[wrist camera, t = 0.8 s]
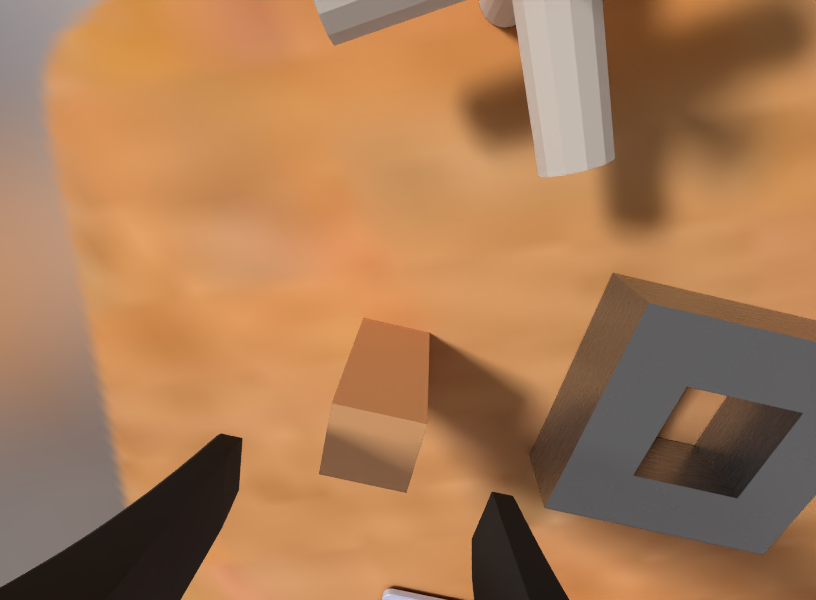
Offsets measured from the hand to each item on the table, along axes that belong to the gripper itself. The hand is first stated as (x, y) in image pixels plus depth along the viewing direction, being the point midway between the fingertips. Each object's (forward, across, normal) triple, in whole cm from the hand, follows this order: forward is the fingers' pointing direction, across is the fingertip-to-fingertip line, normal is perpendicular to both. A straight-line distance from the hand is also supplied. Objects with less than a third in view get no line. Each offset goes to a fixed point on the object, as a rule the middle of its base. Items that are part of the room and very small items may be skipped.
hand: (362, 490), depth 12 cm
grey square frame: (+8, -13, -1) cm, 15 cm away
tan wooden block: (+8, 0, 0) cm, 8 cm away
